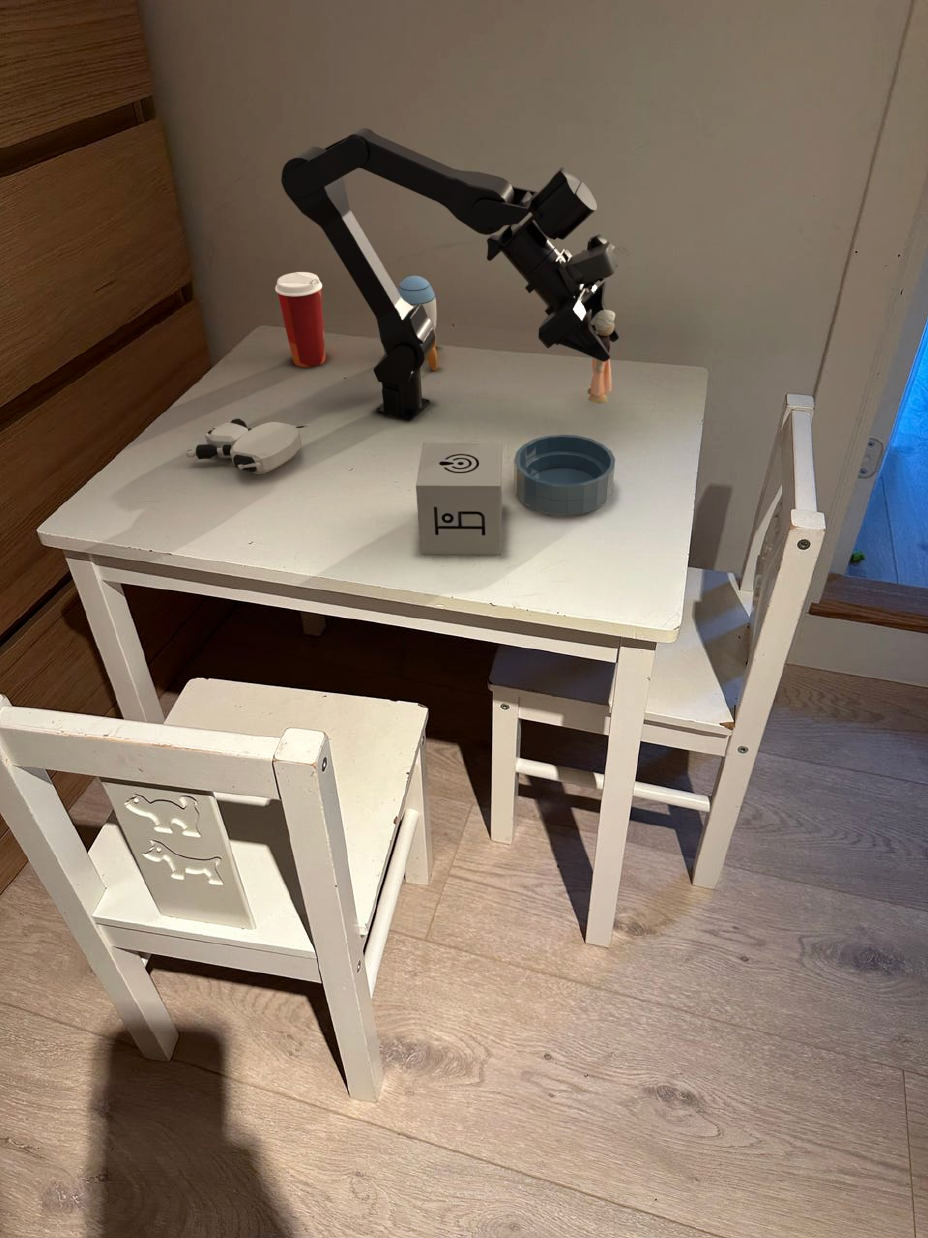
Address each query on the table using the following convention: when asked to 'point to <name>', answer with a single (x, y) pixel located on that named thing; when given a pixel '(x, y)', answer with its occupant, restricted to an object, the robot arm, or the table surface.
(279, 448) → the robot toy
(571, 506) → the blue pet bowl
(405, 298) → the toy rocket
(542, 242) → the robot arm
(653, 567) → the table surface
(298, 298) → the paper cup
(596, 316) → the grandmother figurine
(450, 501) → the icon cube
